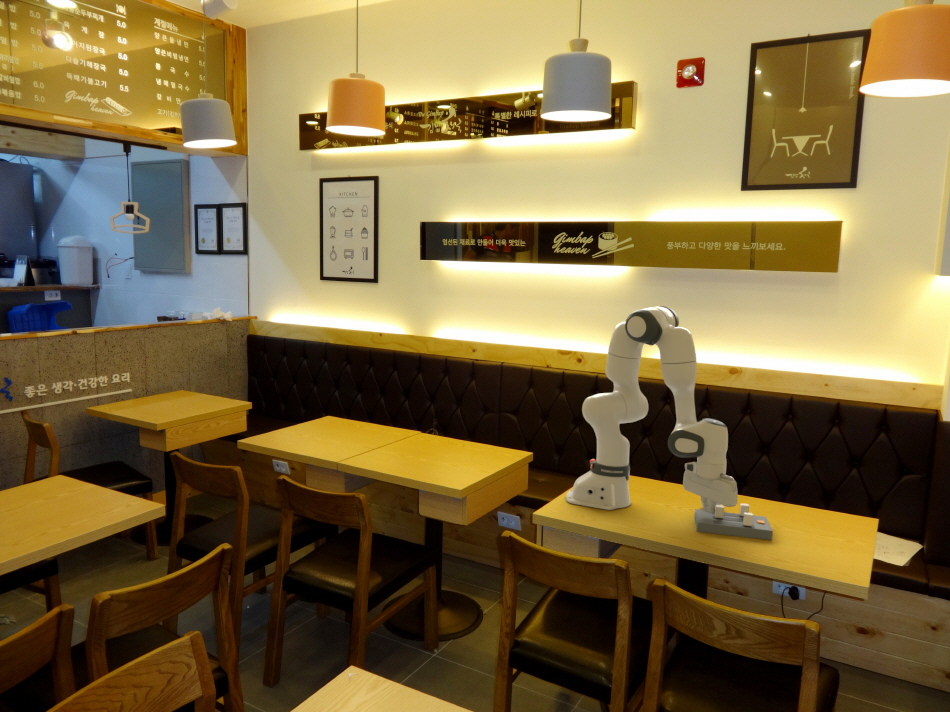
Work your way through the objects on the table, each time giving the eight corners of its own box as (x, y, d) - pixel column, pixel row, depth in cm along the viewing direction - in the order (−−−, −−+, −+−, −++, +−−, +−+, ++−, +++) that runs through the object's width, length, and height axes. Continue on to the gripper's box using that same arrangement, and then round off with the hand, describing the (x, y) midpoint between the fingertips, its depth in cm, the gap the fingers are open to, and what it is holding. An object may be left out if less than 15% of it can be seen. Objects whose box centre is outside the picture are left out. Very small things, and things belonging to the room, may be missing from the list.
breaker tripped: (715, 517, 223) (716, 506, 223) (714, 515, 225) (715, 504, 225) (723, 518, 222) (724, 507, 222) (722, 516, 224) (723, 505, 224)
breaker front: (743, 525, 217) (744, 514, 216) (743, 523, 219) (744, 512, 218) (752, 526, 216) (753, 515, 216) (751, 523, 218) (752, 513, 218)
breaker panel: (696, 531, 219) (697, 521, 219) (694, 517, 232) (695, 507, 232) (771, 540, 214) (772, 529, 214) (765, 525, 227) (765, 515, 226)
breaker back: (740, 515, 225) (741, 505, 225) (739, 513, 227) (740, 503, 227) (748, 516, 225) (749, 506, 224) (747, 514, 227) (748, 504, 226)
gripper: (744, 477, 215) (740, 521, 216) (695, 460, 233) (692, 501, 235) (729, 479, 212) (725, 523, 214) (681, 462, 230) (678, 503, 232)
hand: (708, 511), depth 224 cm, fingers closed
